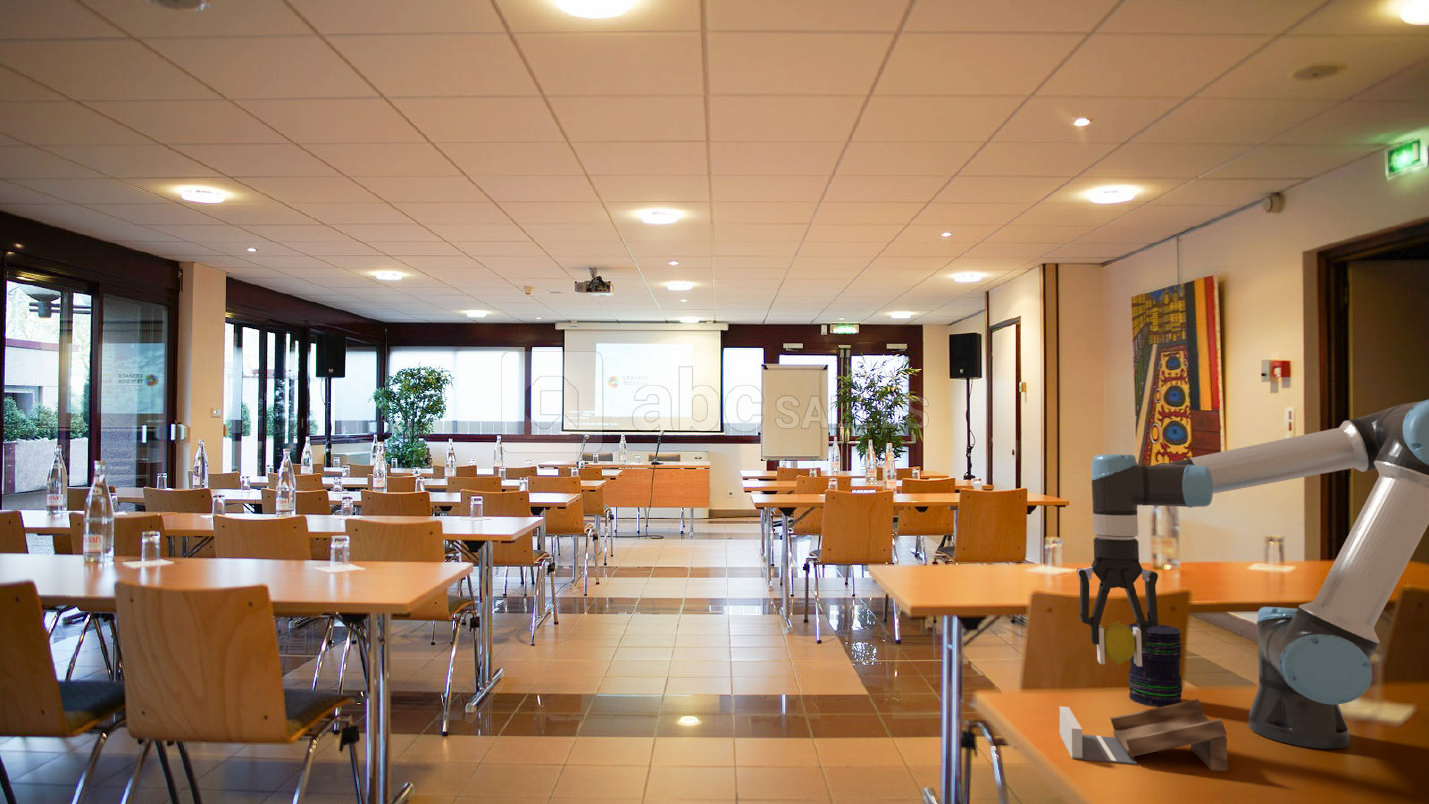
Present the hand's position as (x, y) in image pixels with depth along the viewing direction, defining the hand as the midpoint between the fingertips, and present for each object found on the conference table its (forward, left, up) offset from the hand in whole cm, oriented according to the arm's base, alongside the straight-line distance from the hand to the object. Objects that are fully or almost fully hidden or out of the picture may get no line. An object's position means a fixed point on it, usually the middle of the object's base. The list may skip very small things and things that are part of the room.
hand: (1119, 663), depth 150 cm
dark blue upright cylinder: (-12, -23, -13) cm, 29 cm away
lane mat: (+6, +10, -13) cm, 17 cm away
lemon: (0, 0, -1) cm, 1 cm away
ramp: (-5, +10, -13) cm, 17 cm away
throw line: (+4, +10, -13) cm, 17 cm away
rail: (+10, +10, -13) cm, 19 cm away
